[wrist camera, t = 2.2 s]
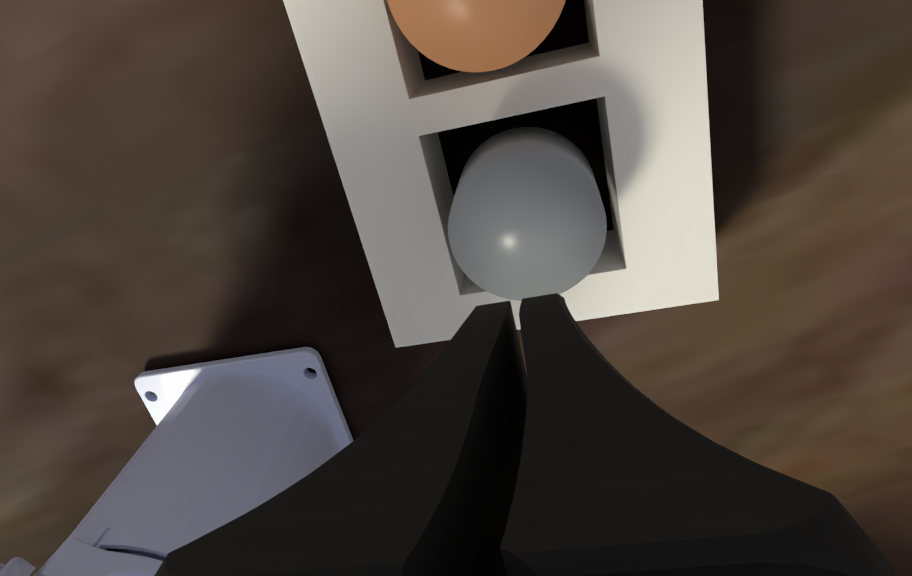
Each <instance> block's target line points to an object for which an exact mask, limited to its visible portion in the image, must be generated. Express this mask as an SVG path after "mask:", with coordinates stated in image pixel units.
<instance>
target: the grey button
mask: <svg viewBox="0 0 912 576" xmlns="http://www.w3.org/2000/svg"><path fill="white" fill-rule="evenodd" d="M606 231H607V222H606V214H605V209H604V206H603V203H602V200H601V196H600V193H599V190H598V187H597V184H596V181H595V178H594V175H593V172H592V169H591V166H590V164H589V162H588V161H587V159H586V157H585V156H584V154H583V153H582V152H581V150H580V149H579V148H578V147H577V146H576V145H575V144H574V143H572V142H571V141H570V140H568V139H567V138H565V137H564V136H562V135H560V134H558V133H556V132H553V131H551V130H547V129H543V128H537V127H519V128H512V129H509V130H505V131H503V132H500V133H498V134H495V135H494V136H492V137H490V138H489V139H487V140H486V141H485V142H483V143H482V144H481V145H480V146H479V147H478V148H477V149H476V150H475V151H474V152H473V153H472V155H471V156H470V157H469V159H468V160H467V162H466V164H465V166H464V168H463V171H462V173H461V176H460V179H459V183H458V186H457V189H456V193H455V196H454V199H453V203H452V206H451V210H450V214H449V220H448V238H449V243H450V247H451V250H452V253H453V256H454V258H455V260H456V262H457V263H458V265H459V266H460V268H461V269H462V271H463V272H464V273H465V274H466V275H467V277H468V278H469V279H471V280H472V281H473V282H474V283H475V284H476V285H478V286H479V287H481V288H482V289H484V290H486V291H488V292H489V293H491V294H494V295H496V296H499V297H502V298H506V299H510V300H517V301H522V299H523V298H529V297H536V296H542V295H548V294H555V293H558V294H561V293H563V292H565V291H568V290H569V289H571V288H572V287H574V286H575V285H577V284H578V283H579V282H580V281H582V280H583V279H584V278H585V277H586V276H587V275H588V274H589V273H590V271H591V270H592V269H593V267H594V266H595V265H596V263H597V261H598V259H599V257H600V255H601V253H602V250H603V248H604V244H605V239H606Z"/></svg>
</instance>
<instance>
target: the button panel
mask: <svg viewBox="0 0 912 576" xmlns="http://www.w3.org/2000/svg"><path fill="white" fill-rule="evenodd" d="M283 1H284V5H285V8H286V11H287V14H288V17H289V20H290V23H291V26H292V29H293V32H294V35H295V39H296V42H297V45H298V48H299V51H300V54H301V57H302V60H303V63H304V66H305V69H306V72H307V76H308V79H309V82H310V85H311V88H312V91H313V94H314V97H315V100H316V103H317V106H318V110H319V113H320V116H321V119H322V122H323V125H324V128H325V131H326V134H327V137H328V140H329V144H330V147H331V150H332V153H333V156H334V159H335V162H336V165H337V168H338V171H339V174H340V177H341V181H342V184H343V187H344V190H345V193H346V196H347V199H348V202H349V205H350V208H351V211H352V215H353V218H354V221H355V224H356V227H357V230H358V233H359V236H360V239H361V242H362V245H363V249H364V252H365V255H366V258H367V261H368V264H369V267H370V270H371V273H372V276H373V279H374V283H375V286H376V289H377V292H378V295H379V298H380V301H381V304H382V307H383V310H384V313H385V316H386V320H387V323H388V326H389V329H390V332H391V335H392V338H393V341H394V344H395V347H396V348H398V347H405V346H412V345H418V344H425V343H432V342H439V341H445V340H451V339H452V337H453V336H454V335H455V333H456V332H457V331H458V329H459V328H460V327H461V325H462V324H463V323H464V321H465V320H466V319H467V317H468V316H469V315H470V313H471V312H472V311H473V310H474V308H475V307H476V306H479V305H485V304H491V303H498V302H504V301H510V302H511V307H512V311H513V316H514V320H515V325H516V329H517V330H520V329H521V326H520V319H519V310H520V305H521V301H517V300H510V299H506V298H502V297H499V296H496V295H494V294H491V293H489V292H488V291H486V290H484V289H482V288H481V287H479V286H478V285H476V284H475V283H474V282H473V281H472V280H471V279H469V278H468V277H467V275H466V274H465V273H464V272H463V271H462V269H461V268H460V266H459V265H458V263H457V262H456V260H455V258H454V256H453V253H452V250H451V247H450V243H449V238H448V220H449V214H450V210H451V206H452V203H453V199H454V197H453V192H452V188H451V184H450V180H449V176H448V172H447V168H446V164H445V160H444V156H443V152H442V148H441V144H440V139H439V135H438V132H441V131H445V130H450V129H455V128H459V127H464V126H469V125H473V124H478V123H483V122H487V121H492V120H497V119H501V118H506V117H511V116H515V115H520V114H525V113H529V112H534V111H539V110H543V109H548V108H553V107H557V106H562V105H567V104H571V103H576V102H581V101H585V100H590V99H595V98H596V99H597V107H598V115H599V122H600V130H601V138H602V145H603V153H604V161H605V168H606V176H607V184H608V191H609V199H610V207H611V214H612V222H613V230H610V231H606V239H605V244H604V248H603V250H602V253H601V255H600V257H599V259H598V261H597V263H596V265H595V266H594V267H593V269H592V270H591V271H590V273H589V274H588V275H587V276H586V277H585V278H584V279H583V280H582V281H580V282H579V283H578V284H577V285H575V286H574V287H572V288H571V289H569V290H568V291H565V292H563V293H561V294H559V295H561V296H562V297H564V298H565V303H566V305H567V307H568V309H569V311H570V313H571V315H572V317H573V318H574V320H575V321H580V320H587V319H594V318H600V317H607V316H614V315H621V314H627V313H634V312H641V311H648V310H654V309H661V308H668V307H675V306H681V305H688V304H695V303H702V302H708V301H715V300H719V295H718V276H717V258H716V239H715V221H714V202H713V184H712V166H711V147H710V129H709V110H708V92H707V73H706V55H705V36H704V18H703V0H584V7H585V15H586V23H587V30H588V38H589V43H584V44H580V45H576V46H571V47H567V48H563V49H559V50H554V51H550V52H546V53H541V54H537V55H533V56H528V57H524V58H522V59H521V60H519V61H517V62H516V63H513V64H511V65H509V66H507V67H504V68H501V69H498V70H494V71H488V72H472V73H471V72H459V73H455V74H451V75H446V76H442V77H438V78H433V79H429V80H425V78H424V74H423V70H422V66H421V62H420V58H419V54H418V50H417V49H416V48H415V47H414V46H413V45H412V44H411V43H410V42H409V41H408V39H407V38H406V37H405V36H404V34H403V33H402V31H401V30H400V28H399V27H398V25H397V23H396V22H395V19H394V17H393V15H392V13H391V11H390V8H389V5H388V1H387V0H283Z"/></svg>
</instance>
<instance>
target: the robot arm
mask: <svg viewBox="0 0 912 576" xmlns="http://www.w3.org/2000/svg"><path fill="white" fill-rule="evenodd" d="M519 319H520V326H521V333H522V340H523V347H524V354H525V361H526V368H527V375H526V370H525V366H524V361H523V357H522V352H521V348H520V343H519V339H518V334H517V329H516V325H515V320H514V316H513V311H512V307H511V302H510V301H504V302H498V303H491V304H485V305H479V306H476V307H475V308H474V310H473V311H472V312H471V313H470V315H469V316H468V317H467V319H466V320H465V321H464V323H463V324H462V325H461V327H460V328H459V329H458V331H457V332H456V333H455V335H454V336H453V337H452V339H451V340H450V341H449V343H448V344H447V345H446V347H445V348H444V349H443V350H442V352H441V353H440V354H439V355H438V357H437V358H436V359H435V360H434V362H433V363H432V364H431V365H430V367H429V368H428V369H427V370H426V371H425V372H424V373H423V374H422V375H421V377H420V378H419V379H418V380H417V381H416V382H415V383H414V384H413V385H412V387H411V388H410V389H409V390H408V391H407V392H406V393H405V394H404V396H403V397H402V398H401V399H400V400H399V401H398V402H397V403H396V404H395V405H394V406H393V407H391V408H390V409H389V410H388V411H387V412H386V413H385V414H384V415H383V416H382V417H381V418H380V419H379V420H377V421H376V422H375V423H374V424H373V425H372V426H371V427H370V428H368V429H367V430H366V431H365V432H364V433H363V434H361V435H360V436H359V437H358V438H357V439H355V440H354V441H353V438H352V436H351V433H350V430H349V428H348V425H347V423H346V420H345V418H344V415H343V412H342V410H341V407H340V405H339V402H338V400H337V397H336V394H335V392H334V389H333V387H332V384H331V382H330V379H329V376H328V374H327V371H326V369H325V366H324V363H323V361H322V358H321V356H320V354H319V353H318V352H317V351H316V350H315V349H313V348H310V347H301V348H295V349H288V350H282V351H275V352H269V353H262V354H255V355H249V356H242V357H236V358H229V359H223V360H216V361H210V362H203V363H197V364H190V365H184V366H177V367H170V368H164V369H157V370H151V371H145V372H142V373H141V374H140V375H139V376H138V377H137V378H136V379H135V382H134V384H135V387H136V389H137V391H138V393H139V394H140V396H141V398H142V400H143V402H144V403H145V405H146V407H147V409H148V411H149V412H150V414H151V416H152V418H153V420H154V421H155V423H156V425H157V426H156V428H155V429H154V430H153V431H152V433H151V434H150V435H149V437H148V438H147V439H146V440H145V442H144V443H143V444H142V445H141V447H140V448H139V449H138V450H137V452H136V453H135V454H134V455H133V457H132V458H131V459H130V461H129V462H128V463H127V464H126V466H125V467H124V468H123V469H122V471H121V472H120V473H119V474H118V476H117V477H116V478H115V479H114V481H113V482H112V483H111V484H110V486H109V487H108V488H107V490H106V491H105V492H104V493H103V495H102V496H101V497H100V498H99V500H98V501H97V502H96V503H95V505H94V506H93V507H92V508H91V510H90V511H89V512H88V513H87V515H86V516H85V517H84V519H83V520H82V521H81V522H80V524H79V525H78V526H77V527H76V529H75V530H74V531H73V532H72V534H71V535H70V536H69V537H68V538H67V539H66V540H65V542H64V543H63V544H62V545H61V546H60V547H59V548H58V549H57V551H56V552H55V553H54V554H53V555H52V556H51V557H50V558H49V560H48V561H47V562H46V563H45V564H44V565H43V566H42V567H41V568H40V570H39V571H38V572H37V573H36V574H35V575H34V576H898V575H897V574H896V572H895V571H894V569H893V568H892V566H891V565H890V563H889V562H888V561H887V559H886V558H885V557H884V556H883V554H882V553H881V552H880V550H879V549H878V548H877V547H876V545H875V544H874V543H873V542H872V540H871V539H870V538H869V537H868V535H867V534H866V533H865V532H864V530H863V529H862V528H861V527H860V526H859V524H858V523H857V522H856V521H855V520H854V518H853V517H852V516H851V515H850V514H849V512H848V511H847V510H846V509H845V508H844V506H843V505H842V504H841V503H840V502H839V501H838V500H837V498H836V497H835V496H834V495H832V494H831V493H829V492H826V491H824V490H821V489H819V488H816V487H814V486H811V485H809V484H806V483H804V482H801V481H799V480H796V479H794V478H792V477H789V476H787V475H784V474H782V473H779V472H777V471H774V470H772V469H769V468H767V467H764V466H762V465H759V464H757V463H755V462H753V461H751V460H749V459H747V458H745V457H743V456H741V455H739V454H737V453H735V452H733V451H731V450H729V449H727V448H725V447H723V446H721V445H719V444H717V443H715V442H713V441H711V440H710V439H708V438H706V437H705V436H703V435H701V434H700V433H698V432H697V431H695V430H693V429H692V428H690V427H688V426H687V425H685V424H684V423H682V422H680V421H679V420H677V419H675V418H674V417H673V416H671V415H670V414H669V413H667V412H666V411H664V410H663V409H662V408H660V407H659V406H658V405H656V404H655V403H654V402H652V401H651V400H650V399H649V398H647V397H646V396H645V395H644V394H642V393H641V392H640V391H639V390H638V389H636V388H635V387H634V386H633V385H632V384H631V383H630V382H629V381H627V380H626V379H625V378H624V377H623V376H622V375H621V374H620V373H619V372H618V371H617V370H616V369H615V368H614V367H613V366H612V365H611V364H610V363H609V362H608V361H607V360H606V359H605V358H604V356H603V355H602V354H601V353H600V352H599V351H598V350H597V349H596V347H595V346H594V345H593V344H592V342H591V341H590V340H589V339H588V338H587V336H586V335H585V334H584V333H583V331H582V330H581V328H580V327H579V326H578V324H577V323H576V321H575V320H574V318H573V317H572V315H571V313H570V311H569V309H568V307H567V305H566V303H565V298H564V297H562V296H561V295H559V294H558V293H555V294H548V295H542V296H536V297H529V298H523V299H522V301H521V305H520V310H519ZM307 368H312V369H314V370H315V371H316V372H317V373H311V372H309V371H308V369H307ZM527 378H528V379H527ZM151 391H152V392H154V393H155V394H156V395H154V394H152V392H151ZM34 569H35V567H34V566H32V565H31V564H30V563H28V562H27V561H26V560H24V559H23V558H20V557H16V558H13V559H11V560H10V561H9V562H8V563H7V564H6V565H5V564H2V563H1V564H0V576H29V575H30V574H31V573H32V571H33V570H34Z"/></svg>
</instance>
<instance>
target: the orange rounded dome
mask: <svg viewBox="0 0 912 576" xmlns="http://www.w3.org/2000/svg"><path fill="white" fill-rule="evenodd" d="M387 1H388V5H389V8H390V11H391V13H392V15H393V17H394V19H395V22H396V23H397V25H398V27H399V28H400V30H401V31H402V33H403V34H404V36H405V37H406V38H407V39H408V41H409V42H410V43H411V44H412V45H413V46H414V47H415V48H416V49H417V50H418V51H419V52H421V53H422V54H423V55H425V56H426V57H427V58H429V59H431V60H432V61H434V62H436V63H437V64H440V65H442V66H445V67H447V68H450V69H454V70H457V71H463V72H471V73H472V72H488V71H494V70H498V69H501V68H504V67H507V66H509V65H511V64H513V63H516V62H517V61H519V60H521V59H522V58H524V57H526V56H527V55H528V54H529V53H531V52H532V51H533V50H534V49H536V48H537V47H538V46H539V45H540V43H541V42H542V41H543V40H544V39H545V38H546V37H547V35H548V34H549V33H550V31H551V30H552V29H553V27H554V25H555V23H556V22H557V20H558V18H559V16H560V14H561V11H562V9H563V7H564V4H565V1H566V0H387Z"/></svg>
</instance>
